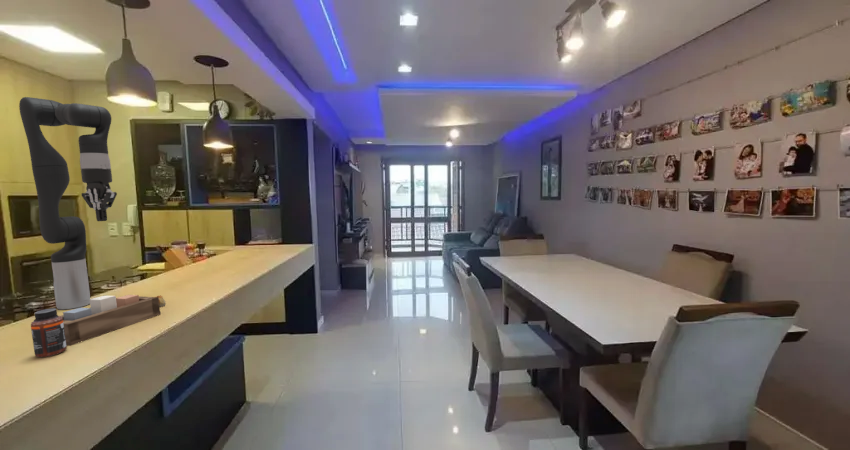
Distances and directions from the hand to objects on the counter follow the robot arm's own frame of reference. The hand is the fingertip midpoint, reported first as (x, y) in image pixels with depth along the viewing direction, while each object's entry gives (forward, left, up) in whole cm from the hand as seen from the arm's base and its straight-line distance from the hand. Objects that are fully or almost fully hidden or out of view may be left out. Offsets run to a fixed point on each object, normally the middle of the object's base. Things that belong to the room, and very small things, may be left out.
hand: (102, 221), depth 126 cm
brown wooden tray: (+10, -9, -32) cm, 35 cm away
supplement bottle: (+17, -27, -32) cm, 45 cm away
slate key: (+10, -16, -30) cm, 35 cm away
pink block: (+10, -2, -30) cm, 31 cm away
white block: (+10, -9, -28) cm, 31 cm away
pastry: (+5, +10, -32) cm, 34 cm away
